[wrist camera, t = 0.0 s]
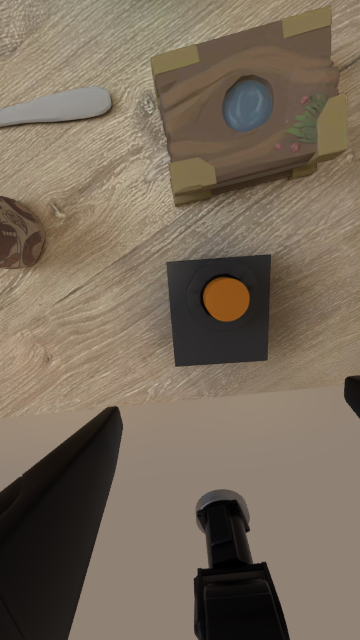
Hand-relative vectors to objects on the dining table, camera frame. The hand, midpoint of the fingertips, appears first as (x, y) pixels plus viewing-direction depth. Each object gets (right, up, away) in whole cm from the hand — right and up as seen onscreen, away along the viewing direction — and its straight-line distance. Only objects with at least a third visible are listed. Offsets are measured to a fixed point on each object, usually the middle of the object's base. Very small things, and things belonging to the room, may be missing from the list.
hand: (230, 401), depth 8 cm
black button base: (+2, +5, +17) cm, 18 cm away
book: (+3, +22, +13) cm, 26 cm away
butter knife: (-22, +22, +13) cm, 34 cm away
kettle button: (+2, +5, +11) cm, 13 cm away
